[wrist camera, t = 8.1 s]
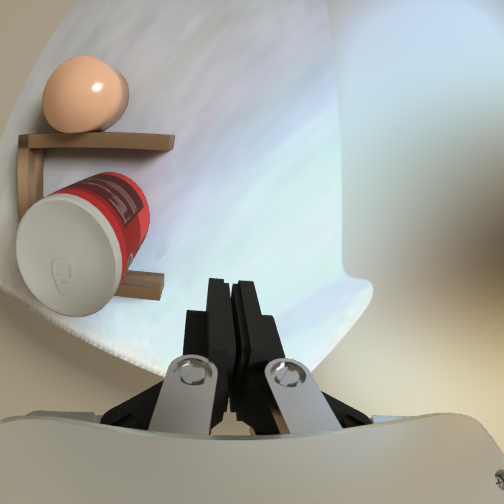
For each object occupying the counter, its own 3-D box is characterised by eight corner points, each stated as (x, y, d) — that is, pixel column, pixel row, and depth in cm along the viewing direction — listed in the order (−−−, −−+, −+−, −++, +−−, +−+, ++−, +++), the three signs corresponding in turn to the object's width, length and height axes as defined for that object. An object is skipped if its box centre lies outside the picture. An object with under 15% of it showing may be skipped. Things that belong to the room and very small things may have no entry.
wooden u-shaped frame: (35, 133, 22) (18, 135, 19) (174, 135, 24) (170, 135, 22) (39, 270, 27) (26, 282, 24) (164, 285, 29) (159, 300, 26)
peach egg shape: (73, 69, 21) (48, 59, 16) (134, 66, 22) (117, 53, 17) (65, 132, 23) (38, 134, 18) (124, 132, 24) (106, 133, 19)
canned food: (85, 259, 27) (36, 320, 17) (68, 178, 24) (0, 208, 14) (158, 250, 28) (133, 315, 18) (145, 164, 25) (104, 184, 15)
